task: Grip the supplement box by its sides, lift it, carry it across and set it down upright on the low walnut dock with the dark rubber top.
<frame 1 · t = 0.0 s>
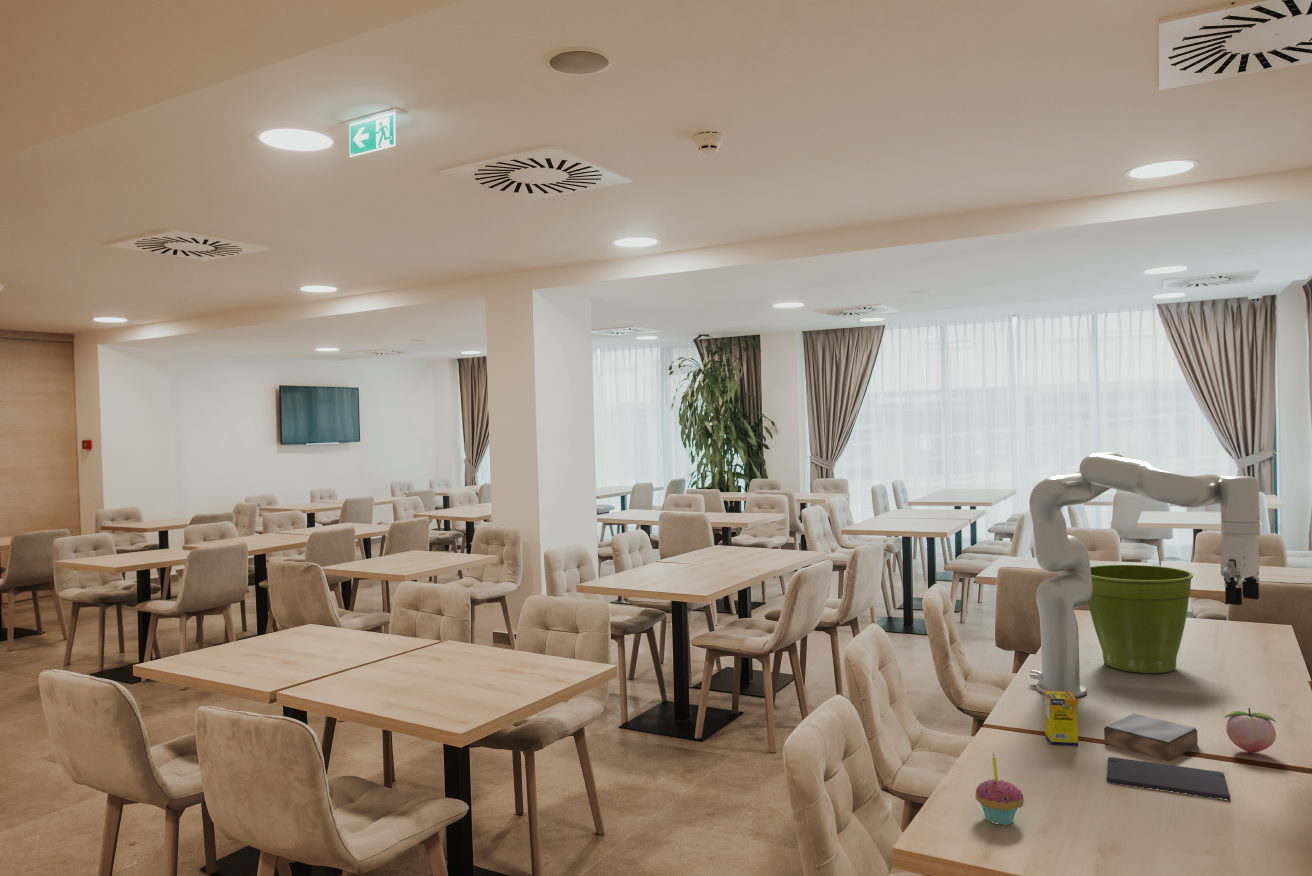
hand: (1242, 601, 201), 31 cm above the table, tool pointing down, fingers open, 9 cm apart
dock: (1150, 744, 197), on the table
plant pot: (1138, 666, 259), on the table
notebook: (1165, 783, 177), on the table
decorative fruit: (1250, 753, 190), on the table
supplement box: (1061, 742, 200), on the table
cupcake: (1000, 820, 162), on the table
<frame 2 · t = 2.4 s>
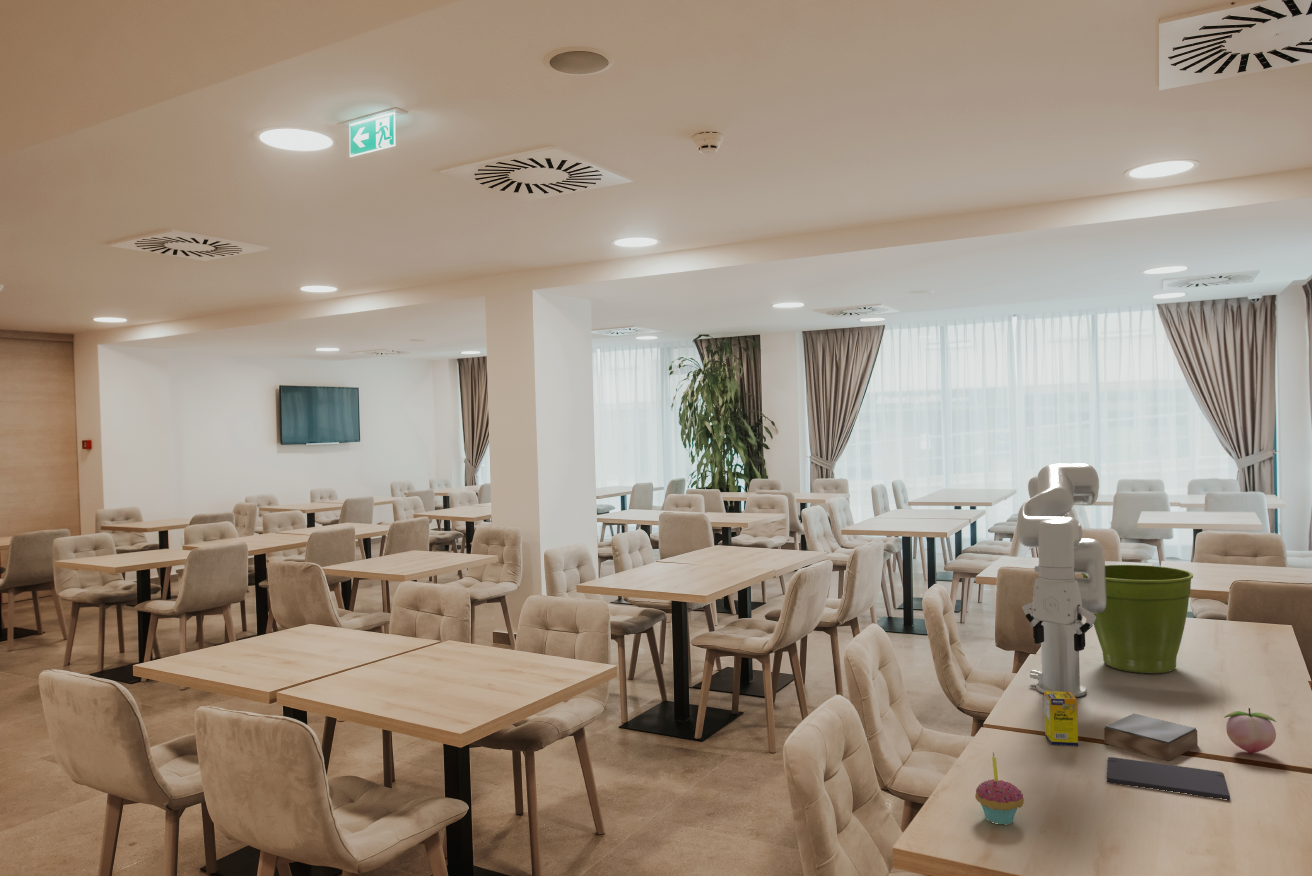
hand: (1058, 646, 200), 22 cm above the table, tool pointing down, fingers open, 9 cm apart
nothing on the table moved.
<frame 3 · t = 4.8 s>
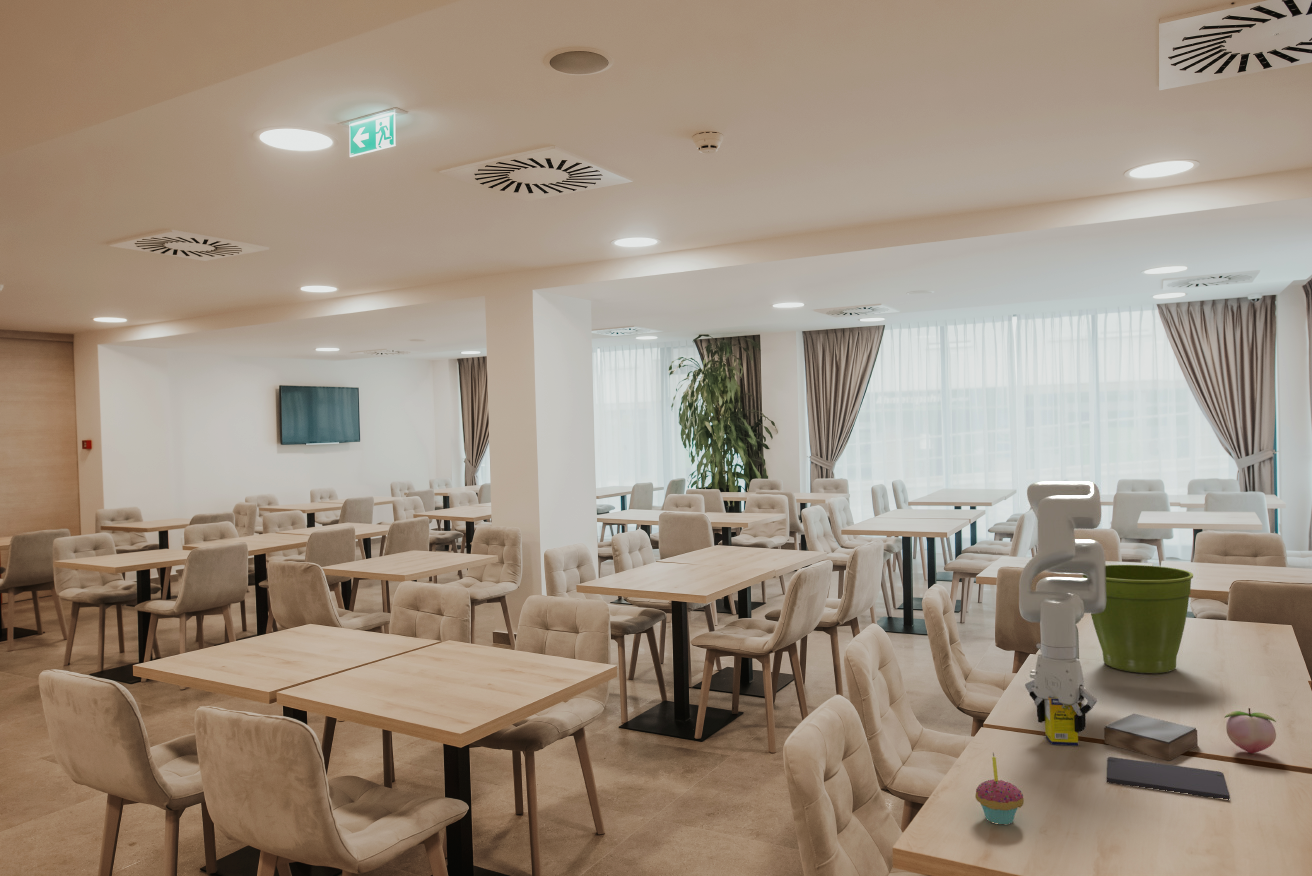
hand: (1061, 725, 200), 4 cm above the table, tool pointing down, fingers closed on supplement box, 8 cm apart
supplement box: (1061, 742, 200), on the table, touching gripper
everything else where it was.
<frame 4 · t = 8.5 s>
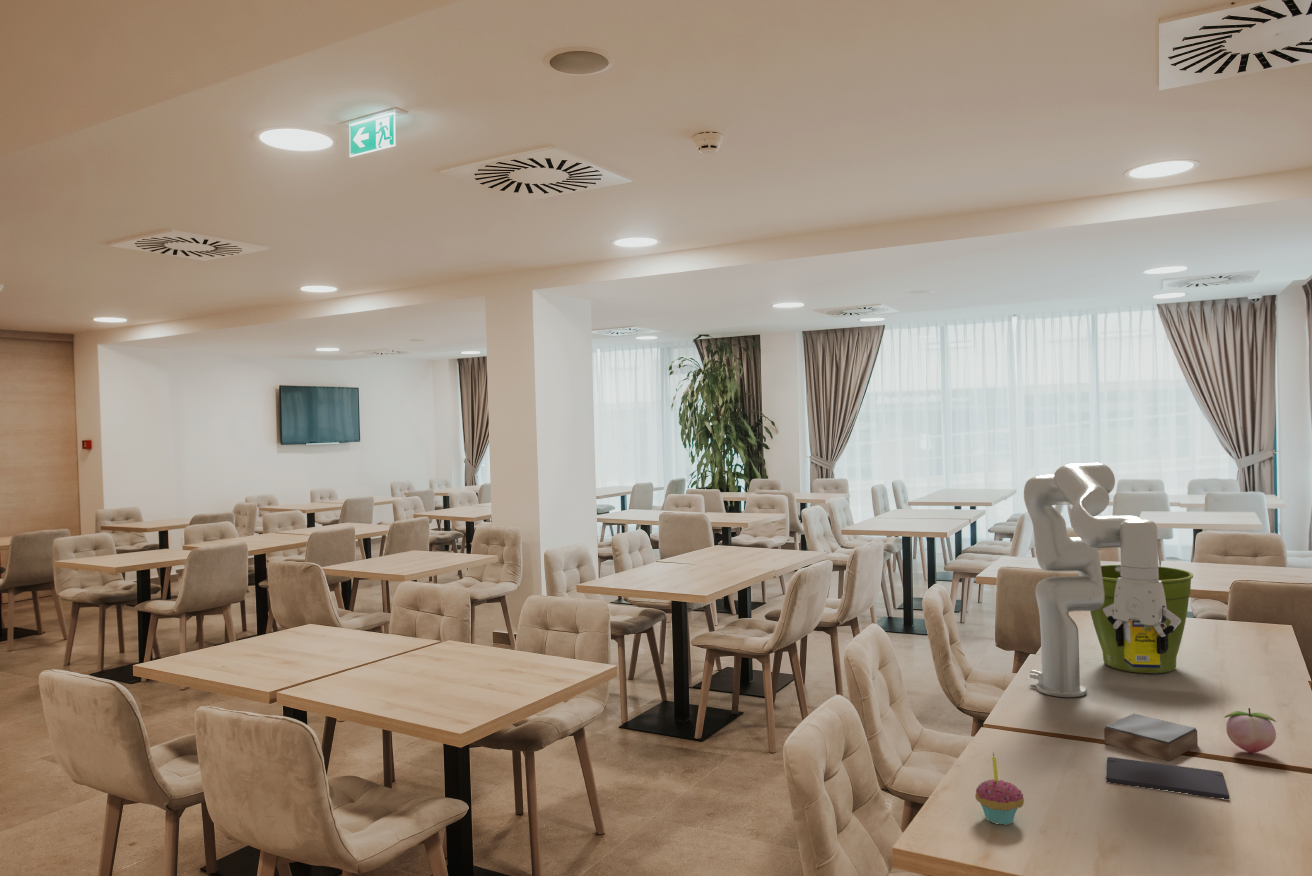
hand: (1141, 648, 197), 22 cm above the table, tool pointing down, fingers closed on supplement box, 8 cm apart
supplement box: (1142, 665, 197), point 18 cm above the table, touching gripper
everything else where it was.
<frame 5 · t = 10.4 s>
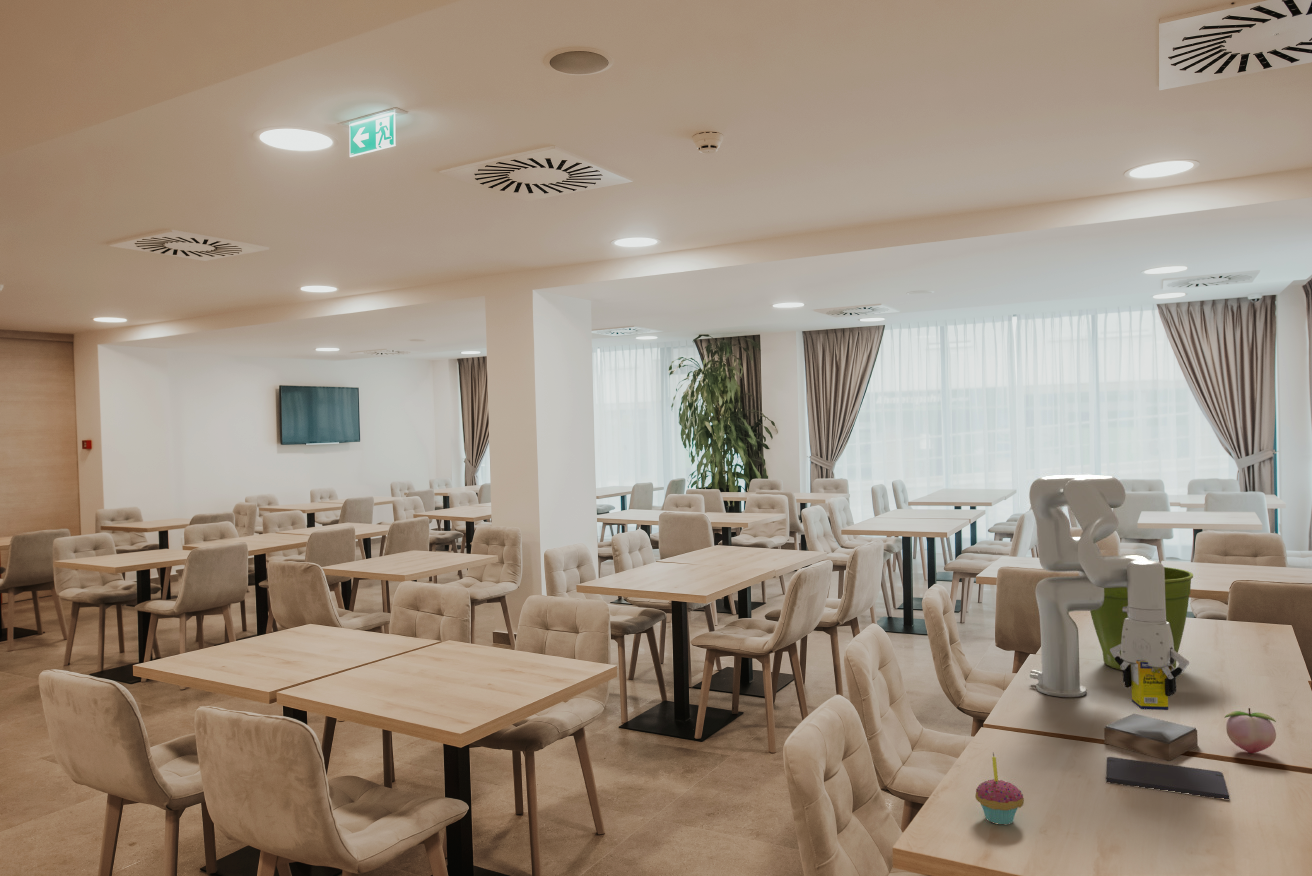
hand: (1149, 690, 197), 12 cm above the table, tool pointing down, fingers closed on supplement box, 8 cm apart
supplement box: (1150, 707, 196), point 9 cm above the table, touching gripper
everything else where it was.
when the fingers open (9 cm above the table, at t = 12.2 s): supplement box drops 1 cm, resting on dock.
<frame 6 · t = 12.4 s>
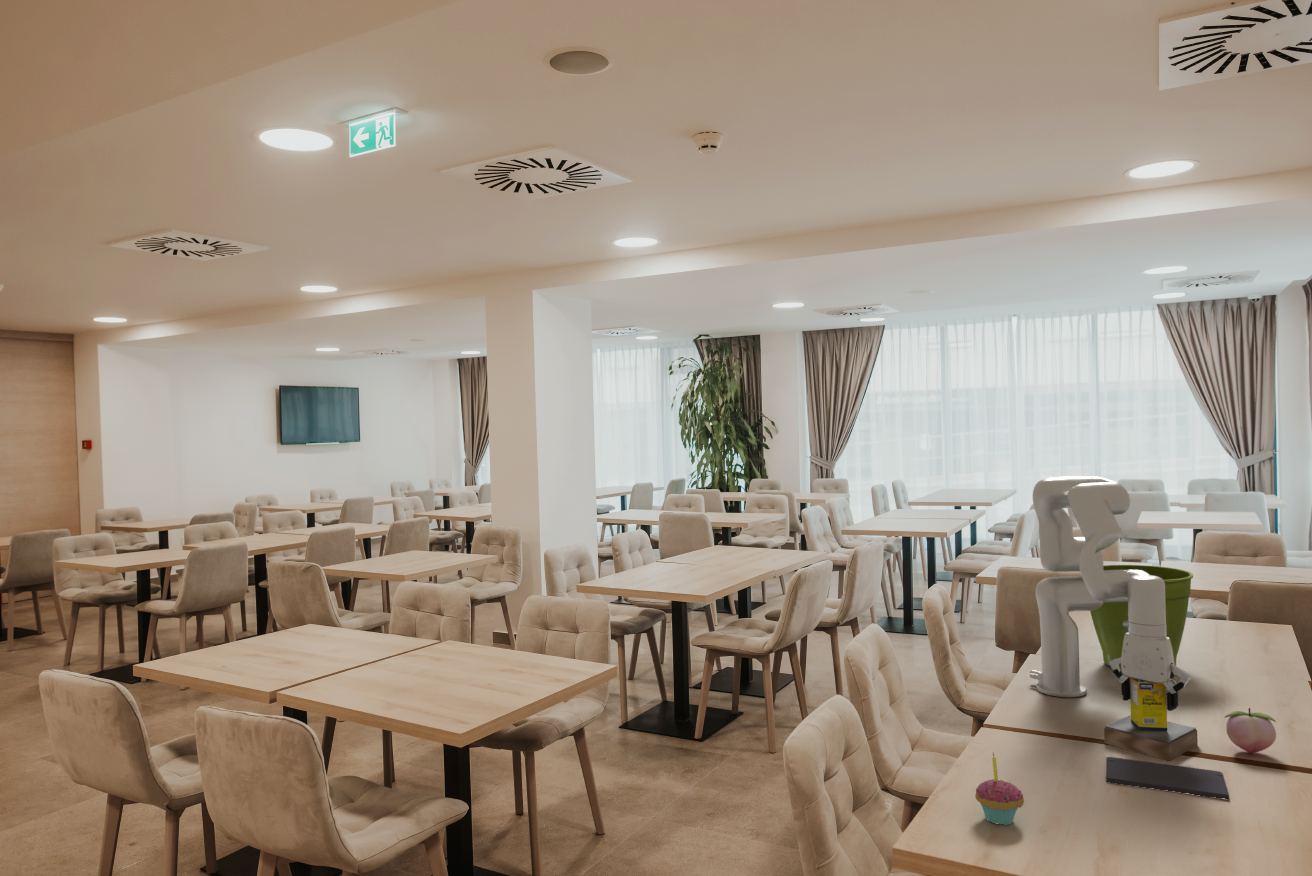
hand: (1149, 704, 197), 9 cm above the table, tool pointing down, fingers open, 9 cm apart
supplement box: (1149, 727, 197), point 4 cm above the table, touching dock
everything else where it was.
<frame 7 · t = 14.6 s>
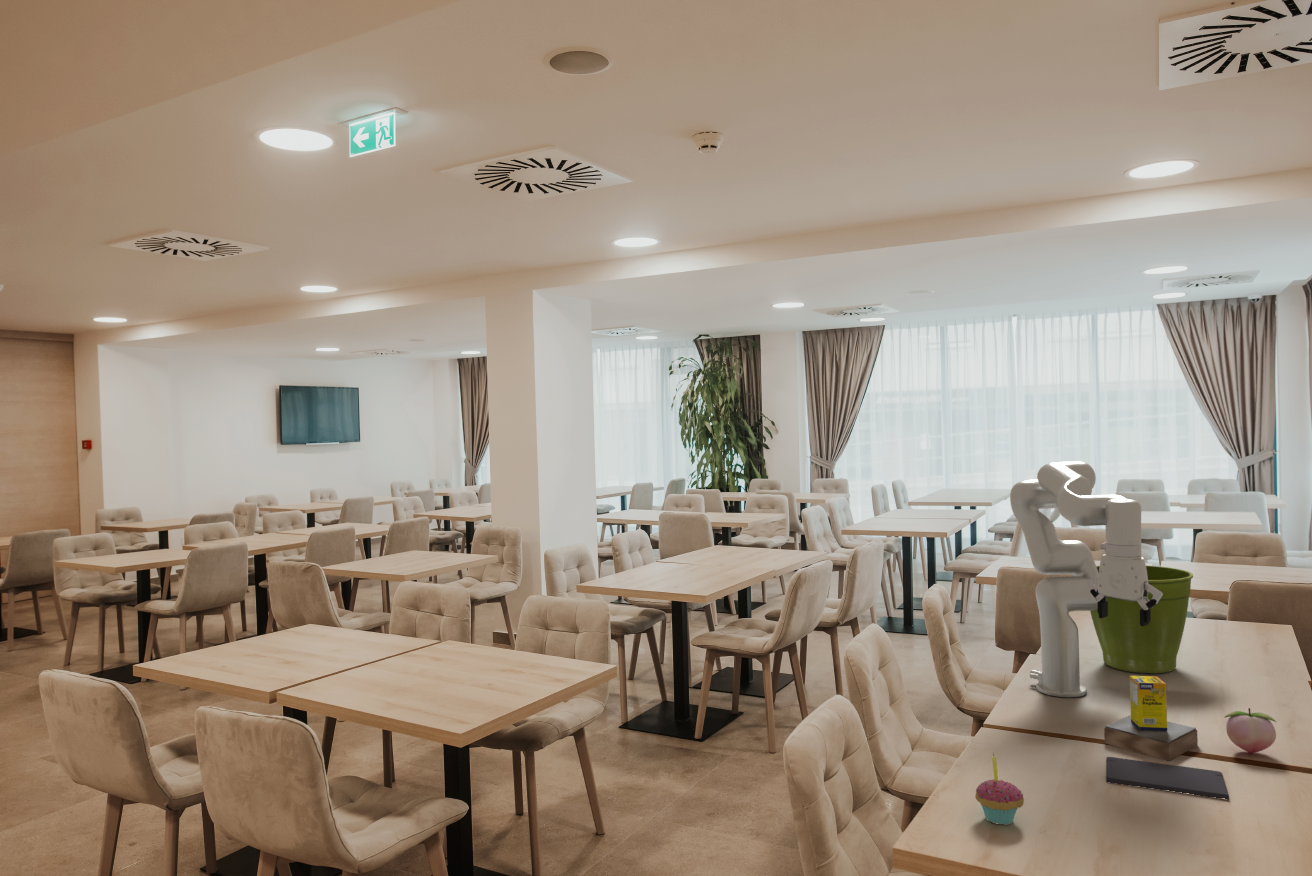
hand: (1123, 621, 206), 26 cm above the table, tool pointing down, fingers open, 9 cm apart
nothing on the table moved.
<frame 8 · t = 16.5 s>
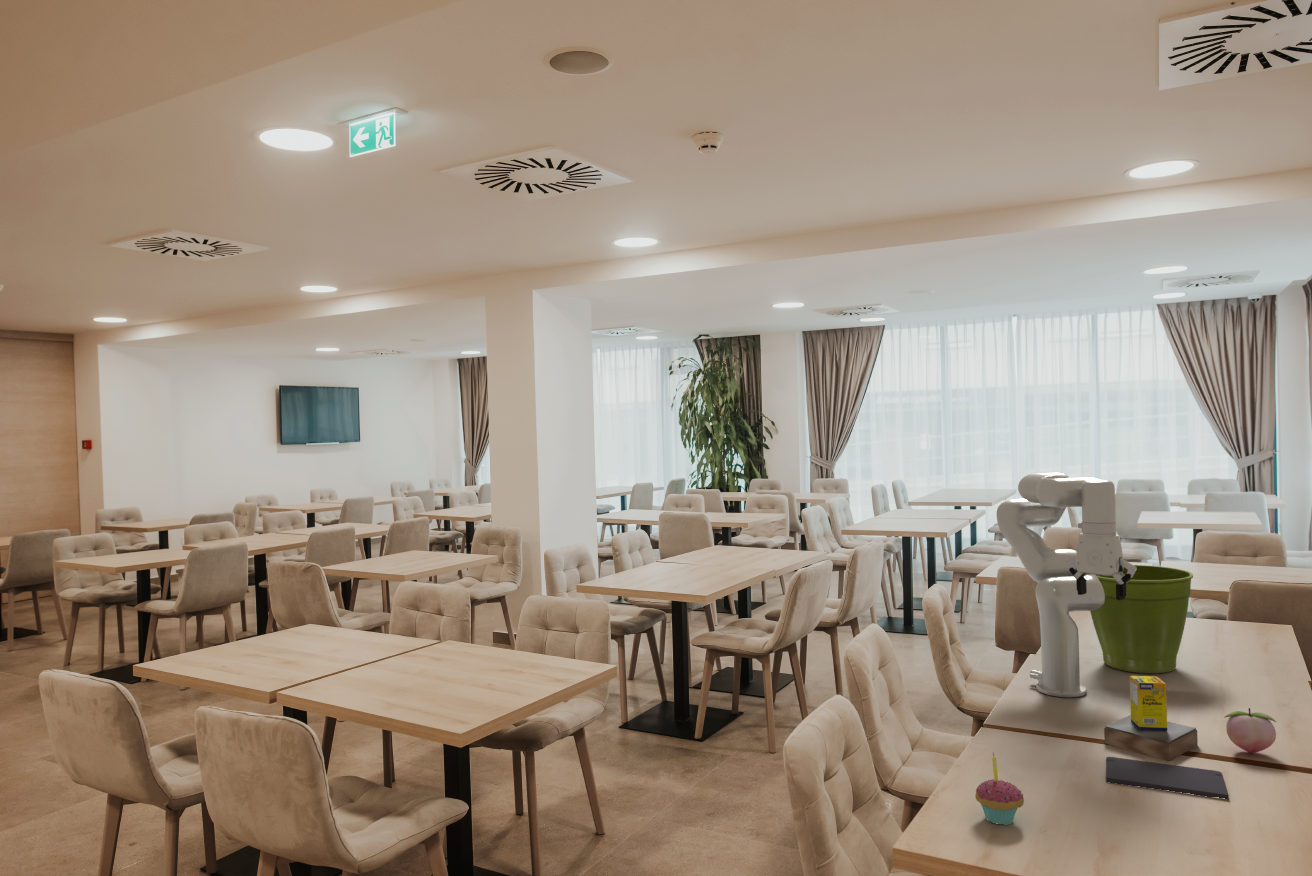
hand: (1101, 596, 216), 30 cm above the table, tool pointing down, fingers open, 9 cm apart
nothing on the table moved.
at the end: supplement box inside the target area on the dock (0.3 cm from its centre), point 3.8 cm above the dock's base; supplement box tilted 0°; the gripper is holding nothing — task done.
